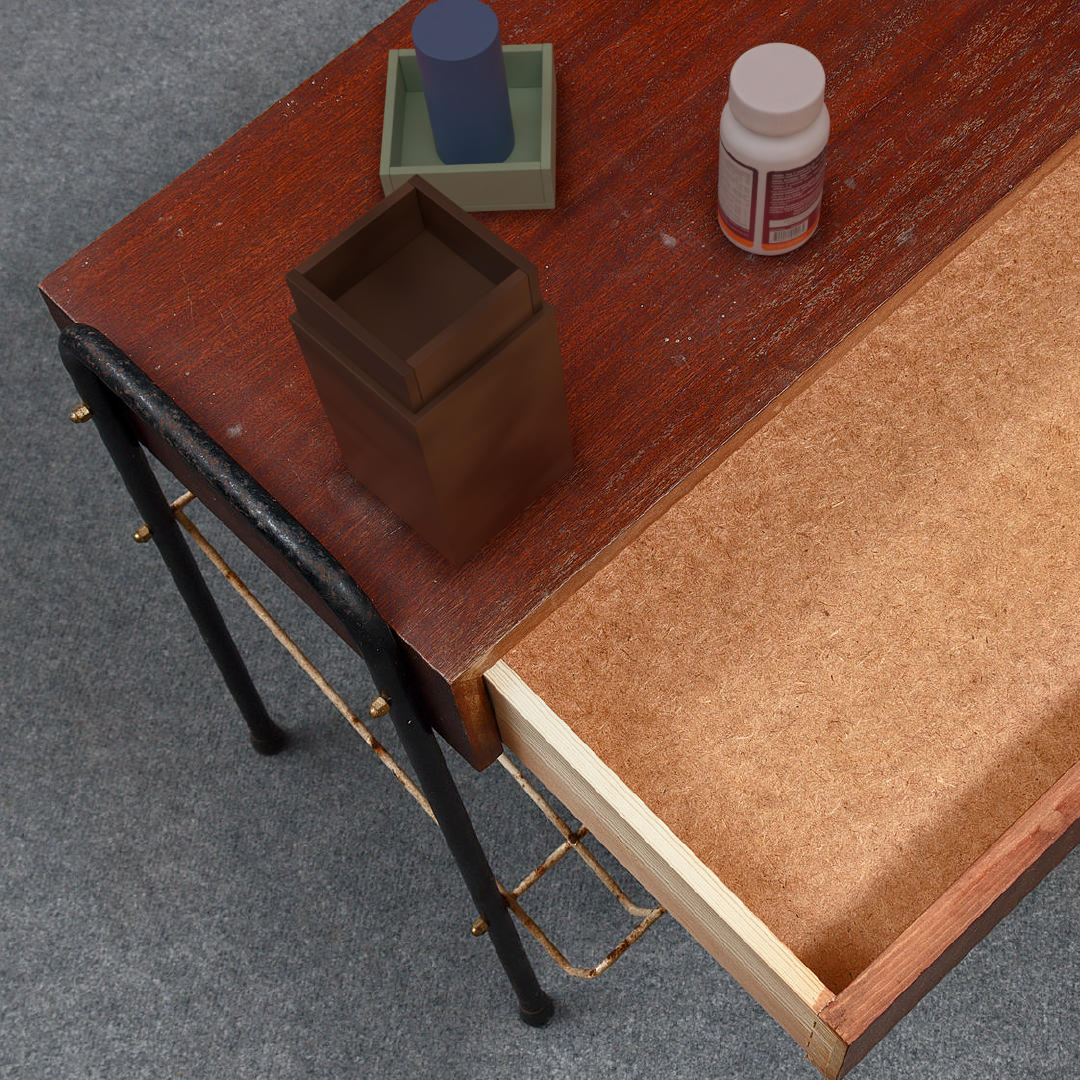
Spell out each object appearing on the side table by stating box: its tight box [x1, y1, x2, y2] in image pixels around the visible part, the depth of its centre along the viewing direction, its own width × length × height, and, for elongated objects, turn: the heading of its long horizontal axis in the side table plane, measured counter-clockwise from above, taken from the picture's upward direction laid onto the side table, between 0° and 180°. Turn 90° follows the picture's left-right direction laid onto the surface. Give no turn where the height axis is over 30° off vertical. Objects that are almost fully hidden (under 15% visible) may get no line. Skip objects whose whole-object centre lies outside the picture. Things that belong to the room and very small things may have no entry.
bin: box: [378, 42, 558, 213], centre depth 90 cm, size 10×10×4 cm
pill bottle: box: [717, 42, 831, 256], centre depth 83 cm, size 6×6×11 cm
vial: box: [411, 0, 515, 165], centre depth 87 cm, size 5×5×9 cm
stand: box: [284, 174, 575, 569], centre depth 74 cm, size 9×9×17 cm
